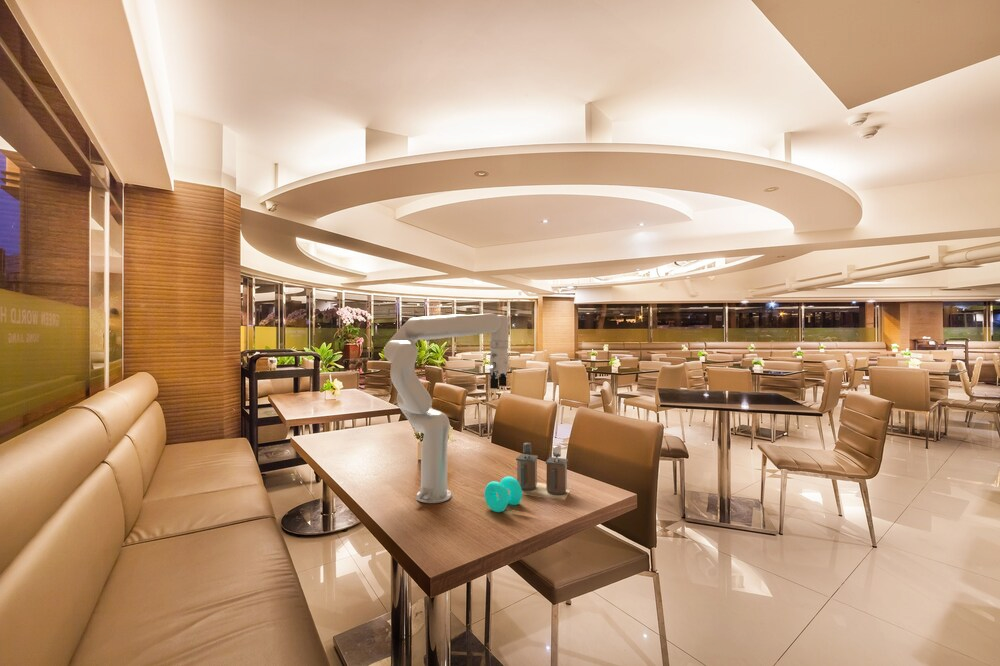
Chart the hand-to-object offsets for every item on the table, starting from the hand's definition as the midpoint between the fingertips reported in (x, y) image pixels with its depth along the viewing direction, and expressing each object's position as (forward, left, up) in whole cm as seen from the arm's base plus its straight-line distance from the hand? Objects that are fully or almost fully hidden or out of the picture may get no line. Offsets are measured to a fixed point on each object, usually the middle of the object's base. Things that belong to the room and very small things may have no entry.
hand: (498, 387), depth 169 cm
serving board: (-5, -20, -38) cm, 44 cm away
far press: (-7, -14, -37) cm, 40 cm away
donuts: (-24, -11, -39) cm, 47 cm away
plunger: (-5, -26, -36) cm, 44 cm away
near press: (-7, -25, -37) cm, 46 cm away
